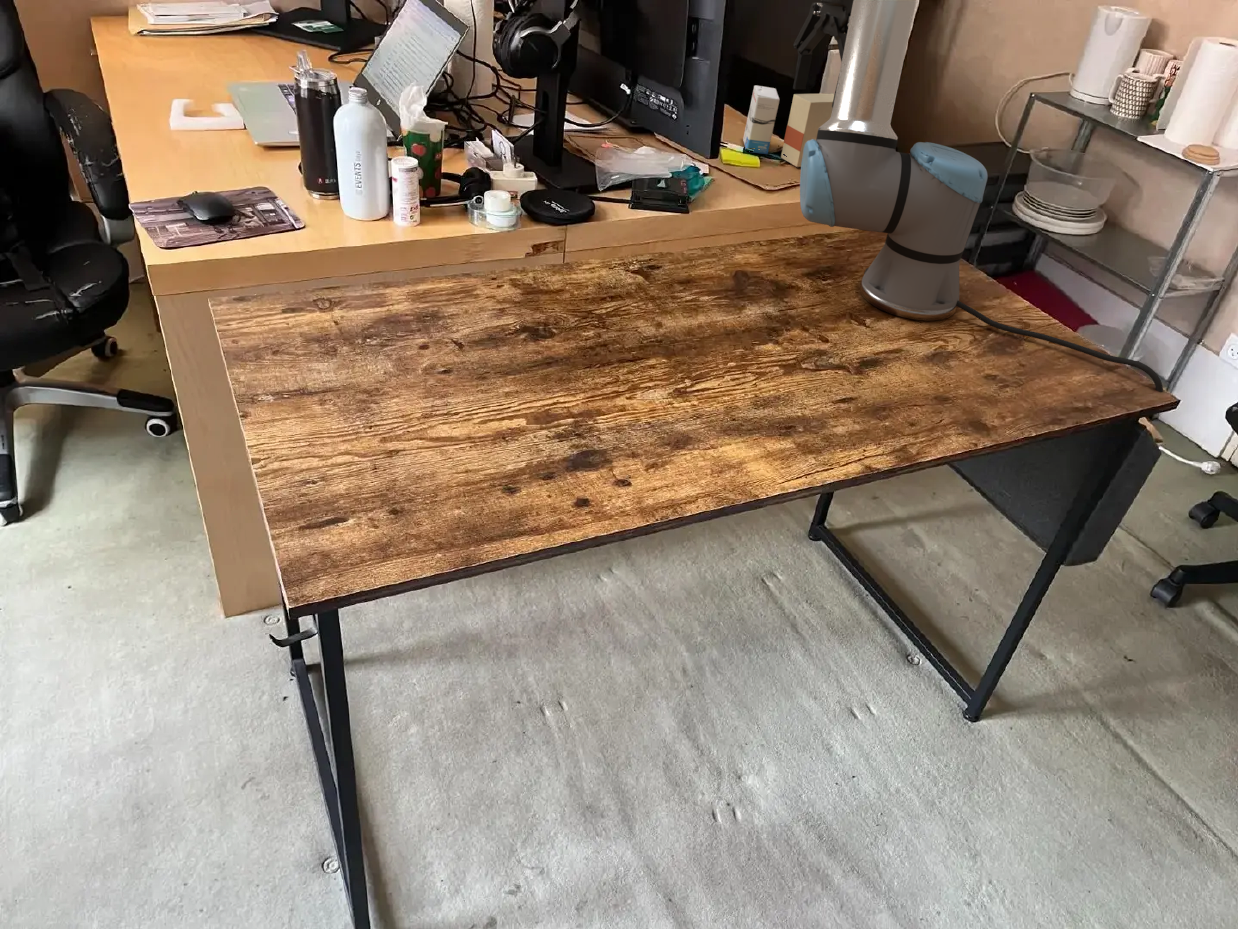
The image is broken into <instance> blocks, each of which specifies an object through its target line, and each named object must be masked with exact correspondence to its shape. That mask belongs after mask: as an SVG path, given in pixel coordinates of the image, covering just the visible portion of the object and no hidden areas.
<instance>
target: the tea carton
mask: <svg viewBox="0 0 1238 929" xmlns="http://www.w3.org/2000/svg"><path fill="white" fill-rule="evenodd" d="M834 94H835V93H833V92H831V93H830V92H829V93H794V94H793V97H792V101H791V102H792V103H791V106H790V111H789V116H788V121H787V125H786V129H785V134H784V139H783V145H782V150H781V154H780V158H781V159H782V160H784V161H786V162H788V163H790V165H793V166H795V167H796V168H801V163H802V158H803V150H804V146H805V143H806V142H807V141H809V140H812V139H814V140H816V138H817V133H818V128H819V127H820V126H822V125H823V124H824V123H825V122H827V121H828V120H829V119H830V117H831V115H832V109H833V107H832V103H833V99H834ZM783 154H785V155H786V156H787V157H786V156H784V155H783Z"/></svg>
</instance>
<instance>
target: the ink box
mask: <svg viewBox="0 0 1238 929" xmlns="http://www.w3.org/2000/svg"><path fill="white" fill-rule="evenodd" d="M779 104H780V97H779V94H778V91H777V88H776V87H775V88H774V87H769V86H763V85H758V84H757V85H753V90H752V95H751V99H750V105H749V110H748V114H747V118H746V123H745V128H744V133H743V136H742V140H743V144H744V148H745V149H746V148H755V149H752V150H754V151H753V152H752V154H753V153H754V154H762V155H768V154H769V150H770V146H771V141H772V136H773V133H774V129H775V128H774V127H775V123H776V119H777V118H776V117H777V113H778V109H779ZM758 149H760V150H758ZM748 153H751V152H750V151H749V152H748Z"/></svg>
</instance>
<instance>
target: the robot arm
mask: <svg viewBox="0 0 1238 929" xmlns="http://www.w3.org/2000/svg"><path fill="white" fill-rule="evenodd" d="M916 3H917V0H820V2H812V3H811V5H810V9H809V13H808V15H807V17H806V19H805V21H804V22H803V25H802V26H801V28H800V31H799V33H798V35H797V36H796V38H795V40H794V42H793V45H792V47H793V49H795V50H796V51H797V54H798V56H797V61H796V66H795V74H794V81H793V86H792V90H806V88H807V83H808V80H809V73H810V68H811V65H812V59H813V50H814V49H815V48H816V46H817V45H818V44H819V43H820V42H821V41H822V40H823V38H824V37H825V36H826V35H827V34H829V36H831V37H833V39H834V40H835V41H836V44H837V49H838V52H839V57H840V68H839V73H838V78H837V83H836V86H835V91H834V93H833V94H834V99H833V103H832V107H833V109H832V115H831V117H830V119H829V120H828V121H827V122H825V123H824V124H823V125H822V126H820V127H819V128H818V133H817V138H816V140H814V139H812V140H809V141H807V142H806V143H805V146H804V150H803V158H802V163H801V167H800V175H799V177H800V178H799V205H800V210H801V214H802V216H803V217H804V219H805V220H806V221H808V222H810V223H814V224H819V225H826V226H828V227H830V228H834V227H838V228H845V229H852V230H859V231H868V232H876V233H883V234H886V238H885V241H884V244H883V246H882V247H881V249H880V251H879V252H878V253H877V255H876V256H875V258H874V259H873V261H872V263H871V264H870V265H869V267H867V268H866V269H865V270H864V273H863V274H864V275H863V276H862V279H861V282H860V285H859V293H860V295H861V296H862V297H863V298H864V299H865V301H866V302H868V303H869V304H871V305H872V306H874V307H875V308H878V309H879V310H881V311H883V312H887V314H891V315H894V316H897V317H901V318H904V319H905V318H906V319H911V320H915V321H939V320H945V319H947V318H950V317H952V316H953V315H954V314H956V310H957V308H959V309H960V310H963V311H965V313H966V312H967V313H968V314H970V315H972V316H973V317H975V318H977V319H978V320H980V321H981V322H983V323H985V324H986V325H988V326H990V327H992V328H995V329H997V330H1001V331H1004V332H1006V333H1011V334H1016V335H1020V336H1025V337H1029V338H1033V339H1038V340H1041V341H1045V342H1048V343H1052V344H1056V345H1059V346H1061V347H1064V348H1067V349H1071V350H1074V351H1078V352H1080V353H1082V354H1086V355H1088V356H1091V357H1094V358H1097V359H1100V360H1103V361H1107V362H1111V363H1116V364H1121V365H1126V366H1130V367H1134V368H1137V369H1139V370H1141V371H1142V372H1144V373H1146V374H1147V376H1149V378H1150V379H1151V380H1152V382H1153V383H1154V388H1155V391H1156V392H1159V393H1163V392H1164V387H1163V382H1162V380H1161V378H1160V376H1159V375H1158V374H1157V372H1155V370H1153V369H1152V368H1151V367H1150V366H1148V365H1147V364H1145V363H1143V362H1140V361H1138V360H1134V359H1130V358H1126V357H1125V358H1124V357H1120V356H1115V355H1111V354H1107V353H1103V352H1101V351H1098V350H1095V349H1091V348H1089V347H1086V346H1084V345H1080V344H1077V343H1075V342H1072V341H1068V340H1065V339H1061V338H1058V337H1056V336H1052V335H1047V334H1045V333H1041V332H1036V331H1032V330H1028V329H1023V328H1022V329H1021V328H1019V327H1014V326H1011V325H1007V324H1003V323H1000V322H998V321H995V320H993V319H991V318H989V317H988V316H986V315H984V314H983V313H981V312H980V311H978V310H976V309H974V308H973V307H971V306H970V305H967V304H965V303H964V302H962V301H960V263H961V259H962V257H963V254H964V251H965V248H966V245H967V242H968V239H969V236H970V234H971V231H972V227H973V225H974V222H975V219H976V216H977V213H978V210H979V208H980V205H981V204H982V202H983V200H984V193H985V191H986V190H985V189H986V185H987V182H988V171H987V169H986V167H985V166H984V165H983V164H982V162H980V161H979V160H977V159H976V158H974V157H972V156H971V155H969V154H967V153H964V152H963V151H960V150H957V149H956V148H952V147H950V146H946V145H943V144H939V143H934V142H930V141H929V142H928V141H925V142H922V141H918V142H915V143H914V144H913V146H912V147H911V148H910V150H909V153H907V152H899V151H896V149H897V145H898V139H899V137H898V136H897V134H896V133H895V131H894V130H893V127H892V126H891V122H892V117H893V112H894V107H895V103H896V98H897V94H898V89H899V85H900V80H901V74H902V71H903V70H902V69H903V66H904V60H905V56H906V53H907V52H906V51H907V47H908V42H909V37H910V32H911V28H912V24H913V18H914V14H915V8H916V5H917V4H916Z"/></svg>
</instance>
